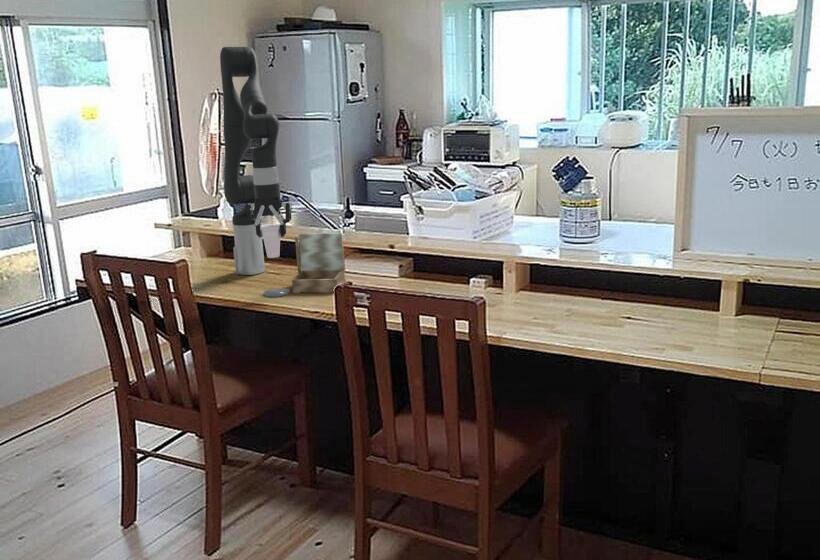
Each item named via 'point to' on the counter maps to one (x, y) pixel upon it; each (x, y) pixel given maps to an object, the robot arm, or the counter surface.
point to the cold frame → (319, 262)
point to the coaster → (276, 292)
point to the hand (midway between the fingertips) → (271, 236)
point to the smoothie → (271, 239)
